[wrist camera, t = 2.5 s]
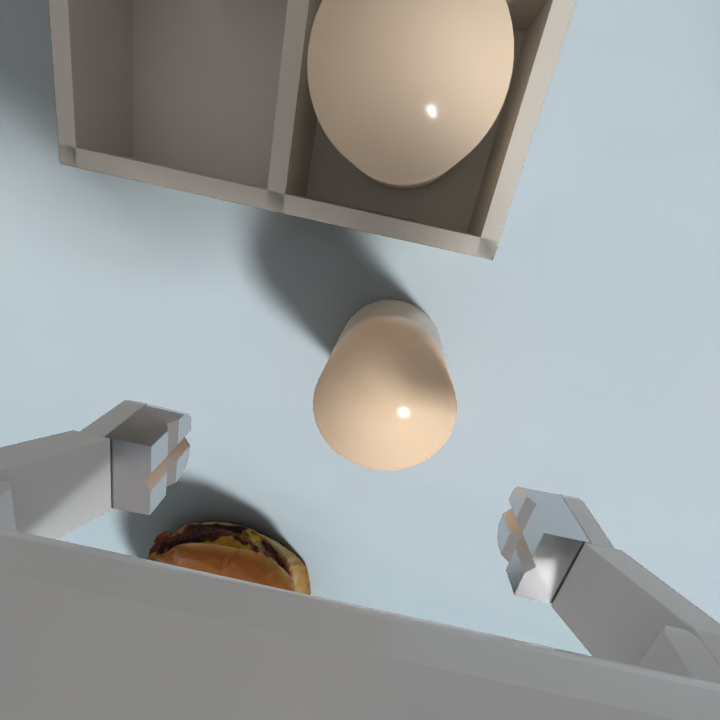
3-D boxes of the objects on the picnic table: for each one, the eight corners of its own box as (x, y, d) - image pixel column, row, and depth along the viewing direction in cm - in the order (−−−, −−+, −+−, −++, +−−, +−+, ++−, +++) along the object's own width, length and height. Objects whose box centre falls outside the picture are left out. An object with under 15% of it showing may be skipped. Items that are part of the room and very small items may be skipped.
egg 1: (488, 59, 14) (546, -42, 8) (450, 201, 15) (476, 198, 10) (357, 31, 14) (325, -88, 8) (333, 175, 15) (294, 158, 10)
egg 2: (453, 312, 18) (475, 361, 12) (425, 403, 19) (434, 483, 14) (350, 289, 18) (326, 327, 12) (332, 381, 19) (303, 452, 14)
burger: (330, 620, 25) (314, 705, 21) (197, 628, 27) (158, 708, 23) (287, 493, 22) (258, 562, 18) (140, 510, 24) (81, 578, 20)
